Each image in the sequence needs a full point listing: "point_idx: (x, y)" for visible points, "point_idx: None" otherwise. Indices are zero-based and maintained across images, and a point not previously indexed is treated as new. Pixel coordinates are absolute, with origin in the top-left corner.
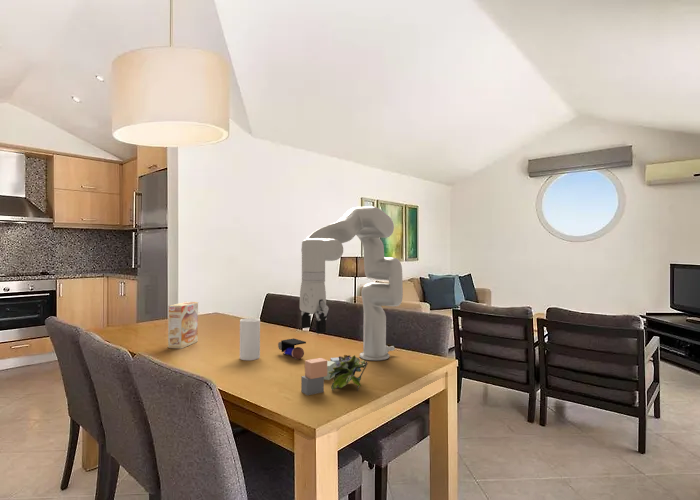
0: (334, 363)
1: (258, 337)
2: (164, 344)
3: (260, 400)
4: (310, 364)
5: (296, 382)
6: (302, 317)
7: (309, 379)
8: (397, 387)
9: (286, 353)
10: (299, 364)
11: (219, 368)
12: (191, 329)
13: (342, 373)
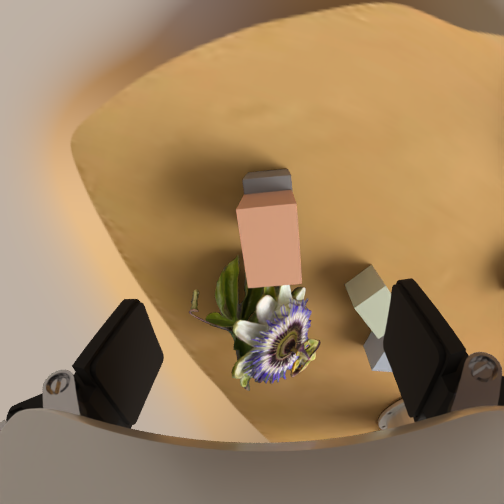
0: (373, 331)
1: None
2: None
3: (267, 39)
4: (241, 207)
5: (376, 191)
6: (443, 346)
7: (244, 189)
8: (212, 377)
9: None
10: (486, 266)
11: None
12: None
13: (253, 310)
